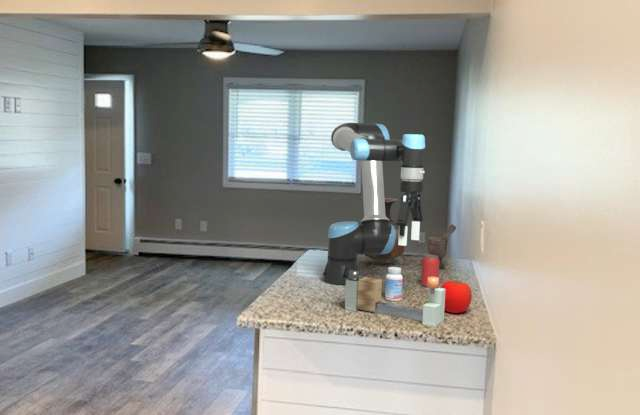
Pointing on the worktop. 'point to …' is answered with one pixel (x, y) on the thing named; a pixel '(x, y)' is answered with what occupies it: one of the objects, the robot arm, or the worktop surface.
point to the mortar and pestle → (440, 245)
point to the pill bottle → (393, 284)
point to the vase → (397, 248)
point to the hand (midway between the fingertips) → (408, 242)
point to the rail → (380, 307)
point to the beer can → (429, 268)
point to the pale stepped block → (434, 308)
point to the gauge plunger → (433, 283)
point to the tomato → (456, 296)
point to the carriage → (369, 293)
